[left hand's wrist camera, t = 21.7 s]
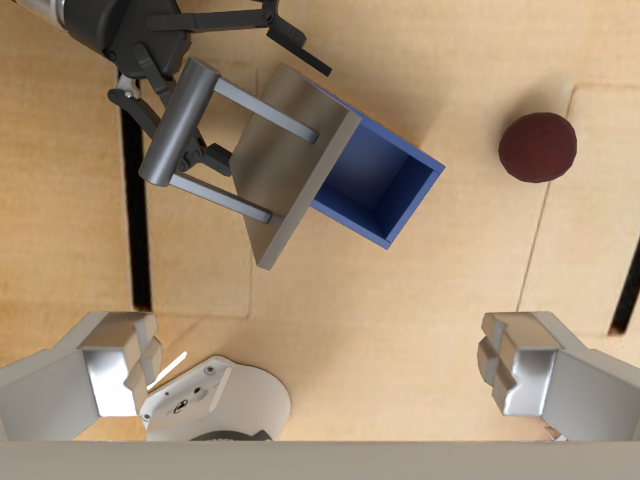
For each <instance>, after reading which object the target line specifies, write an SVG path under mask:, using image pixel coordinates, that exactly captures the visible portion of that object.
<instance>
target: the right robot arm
mask: <svg viewBox="0 0 640 480" xmlns="http://www.w3.org/2000/svg"><path fill="white" fill-rule="evenodd" d="M12 1H14V2H15V3H17V4H19V5H20V6H22V7H23V8H25V9H26V10H28V11H29V12H31V13H33V14H34V15H36V16H38V17H39V18H41V19H42V20H44V21H46V22H47V23H49V24H50V25H52V26H54V27H55V28H57V29H59V30H60V31H63V32H68V33H69V34H70V36H71V37H72V38H74V39H75V40H77V41H79V42H80V43H82V44H84V45H85V46H87V47H88V48H90V49H92V50H93V51H95V52H97V53H98V54H100V55H102V56H103V57H105V58H106V59H108V60H110V61H111V62H113V63H114V64H115V65H116V66H117V67H118V68H119V70H120V71H121V73H122V75H121V77H120V79H119V81H118V83H117V86H116V88H115V89H111V90H109V91H108V94H107V95H108V98H109V100H110V101H111V102H113V103H115V104H116V105H118V106H119V107H121V108H123V109H124V110H126V111H127V112H128V113H129V114H130V115H131V116H132V117H133V118H134V119H135V121H136V122H137V123H138V124H139V125H140V126H141V128H142V129H143V130H144V131H145V132H146V133H147V134H148V136H149V137H150V138H151V139H152V140H153V137H154V135H155V133H156V131H157V128H158V126H159V124H160V122H161V119H160V118H159V116H158V115H157V114H156V113H155V112H154V111H153V109H152V108H151V107H150V106H149V105H148V104H147V103H146V102H145V101H144V100H143V99H141V92H140V90H139V89H138V88H137V87H136V85H135V80H136V79H148V80H149V82H150V84H151V86H152V87H153V89H154V91H155V92H156V93H157V94H158V95H159V97H160V99H161V101H162V102H163V104H164V106H165V108H167V106H168V103H169V101H170V99H171V97H172V94H173V92H174V90H175V88H176V85H177V83H176V81H175V79H174V77H173V75H174V74H175V73H176V72H178V71H179V69H180V67H181V65H182V59H183V56H184V54H185V53H186V52H187V51H188V50H189V48H190V46H191V43H192V42H191V34H190V33H203V32H210V31H225V30H239V29H254V28H269V30H268V32H267V34H266V35H267V36H268V37H269V38H271V39H272V40H274V41H275V42H277V43H278V44H280V45H281V46H283V47H284V48H285V49H287V50H288V51H290V52H291V53H293V54H294V55H296V56H297V57H299V58H300V59H302V60H303V61H305V62H306V63H308V64H309V65H311V66H312V67H314V68H315V69H317V70H318V71H320V72H321V73H323V74H324V75H326V76H327V77H328V76H329V74H330V72H331V71H332V68H330V67H329V66H327V65H326V64H324V63H323V62H321V61H320V60H318V59H317V58H315V57H314V56H312V55H311V54H309V53H308V52H306V51H305V50H304V49H302V48H303V46H304V44H305V42H306V40H307V38H306V37H305V35H304V34H303V33H302V32H301V31H299V30H298V29H296V28H295V27H294V26H292V25H291V24H289V23H288V22H286V21H285V20H283V19H282V18H281V17H279V15H278V4H279V0H252V1H257V2H262V3H263V5H262V9H257V10H242V11H228V12H213V13H199V14H195V13H185V14H182V13H181V11H180V9H179V7H178V5H177V3H176V0H12ZM187 150H188V151H187ZM187 150H186V151H185V153H184V155H183V157H182V160H181V162H180V164H179V166H178V168H177V169H178V170H179V171H181V172H186V171H187V170H189V169H190V168H192V167H193V166H194V165H195V164H196V163H203V164H205V165H207V166H209V167H210V168H212V169H214V170H216V171H217V172H219V173H221V174H222V175H224V176H228V177H230V176H231V175H232V173H231V169H230V165H229V159H230V157H231V155H232V154H233V153H231V152H229V151H228V150H226V149H224V148H223V147H221V146H219V145H218V144H216V143H213V144H212V145H210V146H208V147H207V145H206V143H205V141H204V139H203V137H202V135H201V133H200V132H199V130H198V128H196V130H195V132H194V134H193V136H192V138H191V141H190V143H189V145H188V147H187Z"/></svg>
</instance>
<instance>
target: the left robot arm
mask: <svg viewBox="0 0 640 480" xmlns="http://www.w3.org/2000/svg"><path fill="white" fill-rule="evenodd" d="M158 328H159V326H158V321H157V317H156V315H155V314H154V313H153V312H111V311H94V312H88V313H87V314H86V315H85V316H84V317H83V318H82V319H81V320H80V321H79V322H78V323H77V324H76V325H75V326H74V327H73V328H72V329H71V330H70V331H69V332H68V333H67V334H66V335H65V336H64V337H63V338H62V339H61V340H60V341H59V342H58V343H57V344H56V345H55V346H54V347H53V348H52V349H44V350H42V351H39V352H37V353H35V354H33V355H30V356H28V357H26V358H23V359H21V360H19V361H17V362H14V363H12V364H10V365H8V366H5V367H3V368H1V369H0V480H640V369H639V368H637V367H635V366H632V365H630V364H628V363H626V362H623V361H621V360H619V359H617V358H614V357H612V356H610V355H607V354H605V353H603V352H601V351H598V350H596V349H588V348H587V347H586V346H585V345H584V344H583V343H582V342H581V341H580V340H579V339H578V338H577V337H576V336H575V335H574V334H573V333H572V332H571V331H570V330H569V329H568V328H567V327H566V326H565V325H564V324H563V323H562V322H561V321H560V320H559V319H558V318H557V317H556V316H555V315H554V314H553V313H551V312H548V311H535V312H497V313H485V315H484V317H483V321H482V326H481V328H482V330H483V331H484V333H485V335H486V336H485V337H484V338H483V339H482V340H481V341H480V342H479V345H478V352H477V358H478V367H479V370H480V374H481V376H482V378H483V380H484V382H486V383H487V384H489V385H490V386H492V387H493V390H492V396H493V398H494V400H495V402H496V404H497V405H498V407H499V409H500V411H501V413H502V414H503V416H526V417H541V419H542V420H543V421H545V422H546V423H547V424H549V425H550V426H551V427H552V428H554V429H555V430H556V431H558V432H559V433H560V434H561V435H563V436H564V437H565V438H567V439H568V440H569V441H279V439H280V436H281V433H282V431H283V428H284V426H285V424H286V422H287V420H288V418H289V415H290V411H291V401H290V397H289V394H288V392H287V390H286V389H285V387H284V386H283V384H282V383H281V382H280V381H279V380H278V379H277V378H275V377H274V376H273V375H271V374H269V373H268V372H266V371H264V370H261V369H258V368H255V367H251V366H245V365H240V364H236V363H234V362H232V361H230V360H228V359H226V358H224V357H222V356H217V355H216V356H212V357H211V358H209V359H207V360H205V361H204V362H202V363H200V364H199V365H197V366H195V367H194V368H192V369H190V370H188V371H187V372H185V373H183V374H182V375H180V376H178V377H177V378H175V379H173V380H172V381H170V382H168V383H166V384H165V385H163V386H161V387H160V388H158V389H156V390H155V391H153V392H151V393H149V394H148V390H149V389H150V388H151V387H152V386H153V385H154V384H155V383H156V382H158V381H159V380H160V379H161V378H162V377H163V376H164V375H165V374H167V373H168V372H169V371H170V370H171V369H172V368H173V367H175V366H176V365H177V364H178V363H179V362H180V361H181V360H182V359H184V358H185V355H186V352H184V353H183V354H182V355H181V356H180V357H178V358H177V359H176V360H175V361H174V362H173V363H172V364H171V365H170V366H168V367H167V368H166V369H165V370H164V371H163V372H162V373H161V374H160V370H161V366H162V362H163V351H162V344H161V342H160V341H159V340H158V339H157V338H156V337H155V336H154V335H155V333H156V332H157V330H158ZM209 367H211V368H213V369H210V368H209ZM147 389H148V390H147ZM139 411H140V417H141V420H142V422H143V425H144V427H145V429H146V441H71V440H72V439H74V438H75V437H76V436H77V435H79V434H80V433H81V432H83V431H84V430H85V429H86V428H88V427H89V426H90V425H92V424H93V423H94V422H95V421H97V420H98V419H99V417H114V416H137V414H138V413H139ZM147 414H148V415H147Z"/></svg>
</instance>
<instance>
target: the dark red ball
mask: <svg viewBox="0 0 640 480" xmlns="http://www.w3.org/2000/svg"><path fill="white" fill-rule="evenodd" d="M498 152H499V157H500V161H501V163H502V164H503V166H504V167H505V169H506V170H507V172H508V173H509V174H510V175H512V176H514V177H515V178H517V179H518V180H520V181H523V182H530V183H541V182H547V181H551V180H554V179H556V178H558V177H560V176H562V175H563V174H564V173H565V172H566V171H567V170H568V169H569V168H570V167H571V166H572V163H573V161H574V158H575V156H576V153H577V139H576V135H575V131H574V129H573V127H572V126H571V124H570V123H569V122H568V121H567V120H565V119H564V118H563V117H561V116H559V115H557V114H554V113H550V112H548V113H532V114H529V115H526V116H523V117H521V118H520V119H518V120H517V121H515V122H514V123H513V124H512V125H511V126H510V127H509V128H508V129H507V131H506V132H505V133H504V135H503V137H502V139H501V142H500V145H499V151H498Z"/></svg>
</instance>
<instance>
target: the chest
mask: <svg viewBox="0 0 640 480" xmlns="http://www.w3.org/2000/svg"><path fill="white" fill-rule="evenodd" d="M286 66H287V65H286ZM288 67H289V66H288ZM289 68H291V67H289ZM291 69H292V70H294V71H295V72H296V73H298V74H299V75H301V76H302V77H304V78H305V79H307V80H308V81H310V82H311V83H312V84H314V85H315V86H317V87H318V88H320V89H321V90H323V91H324V92H326V93H327V94H328V95H330V96H331V97H333V98H334V99H336V100H337V101H339V102H340V103H341V104H343V105H344V106H346V107H347V108H349V109H350V110H352V111H353V112H355V113H356V114H357V115H359V116H360V117H362V120H361V121H360V123H359V125H358V126H357V128H356V130H355V131H354V133H353V135H352V136H351V138H350V140H349V141H348V143H347V145H346V146H345V148H344V149H343V151H342V153H341V154H340V156H339V158H338V159H337V161H336V163H335V164H334V166H333V168H332V169H331V171H330V172H329V174H328V176H327V177H326V179H325V181H324V182H323V184H322V186H321V187H320V189H319V191H318V192H317V194H316V196H315V197H314V199H313V200H312V202H311V204H310V205H309V206H311V207H313V208H314V209H316V210H318V211H320V212H321V213H323V214H325V215H327V216H328V217H330V218H332V219H334V220H335V221H337V222H339V223H341V224H342V225H344V226H346V227H348V228H349V229H351V230H353V231H355V232H357V233H358V234H360V235H362V236H364V237H365V238H367V239H369V240H371V241H372V242H374V243H376V244H378V245H379V246H381V247H383V248H385V249H386V250H387V249H388V248H389V247H390V245H391V243H392V242H393V241H394V239H395V238H396V237H397V235H398V234H399V232H400V231H401V229H402V228H403V227H404V225H405V224H406V222H407V221H408V220H409V218H410V217H411V215H412V214H413V212H414V211H415V210H416V208H417V207H418V205H419V204H420V202H421V201H422V200H423V198H424V197H425V195H426V194H427V193H428V191H429V190H430V188H431V187H432V185H433V184H434V183H435V181H436V180H437V178H438V177H439V176H440V174H441V173H442V171H443V170H444V169H445V166H444V165H443V164H441V163H440V162H438V161H437V160H435V159H434V158H432V157H431V156H429V155H428V154H426V153H425V152H423V151H422V150H421V149H419V148H417V147H416V146H414V145H413V144H411V143H410V142H408V141H406V140H405V139H403V138H402V137H400V136H399V135H397V134H395V133H394V132H392V131H391V130H389V129H388V128H386V127H384V126H383V125H381V124H380V123H378V122H377V121H375V120H373V119H372V118H370V117H369V116H367V115H365V114H364V113H362V112H361V111H359V110H358V109H356V108H354V107H353V106H351V105H350V104H348V103H347V102H345V101H343V100H342V99H340V98H339V97H337V96H336V95H334V94H332V93H331V92H329V91H328V90H326V89H325V88H323V87H321V86H320V85H318V84H317V83H315V82H314V81H312V80H310V79H309V78H307V77H306V76H304V75H302V74H301V73H299V72H298V71H296V70H295V69H293V68H291Z"/></svg>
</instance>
